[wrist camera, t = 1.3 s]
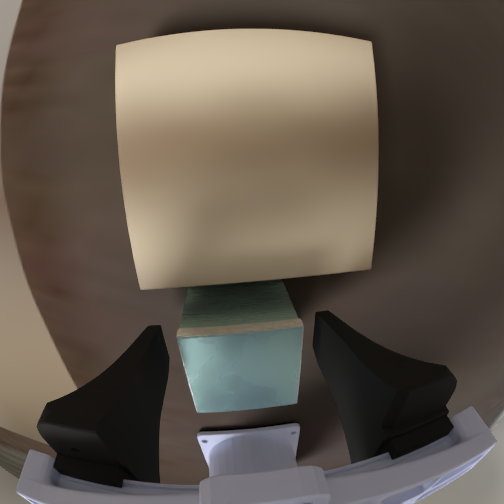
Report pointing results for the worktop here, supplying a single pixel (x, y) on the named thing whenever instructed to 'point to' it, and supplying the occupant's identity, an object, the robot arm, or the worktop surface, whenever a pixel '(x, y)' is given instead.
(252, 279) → the beige square slab
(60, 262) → the worktop surface
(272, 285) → the tin
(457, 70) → the worktop surface
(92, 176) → the worktop surface
